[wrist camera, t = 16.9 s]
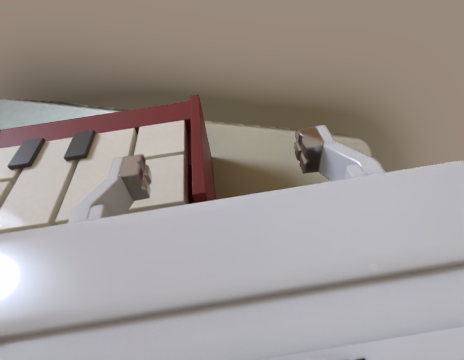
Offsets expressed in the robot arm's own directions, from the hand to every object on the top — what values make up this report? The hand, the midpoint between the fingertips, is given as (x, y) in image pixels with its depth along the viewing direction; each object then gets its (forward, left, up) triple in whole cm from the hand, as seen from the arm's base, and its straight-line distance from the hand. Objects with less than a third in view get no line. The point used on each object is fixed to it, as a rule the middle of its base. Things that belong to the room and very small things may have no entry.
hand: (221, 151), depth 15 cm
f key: (-5, +2, -5) cm, 7 cm away
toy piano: (-11, +6, -10) cm, 16 cm away
